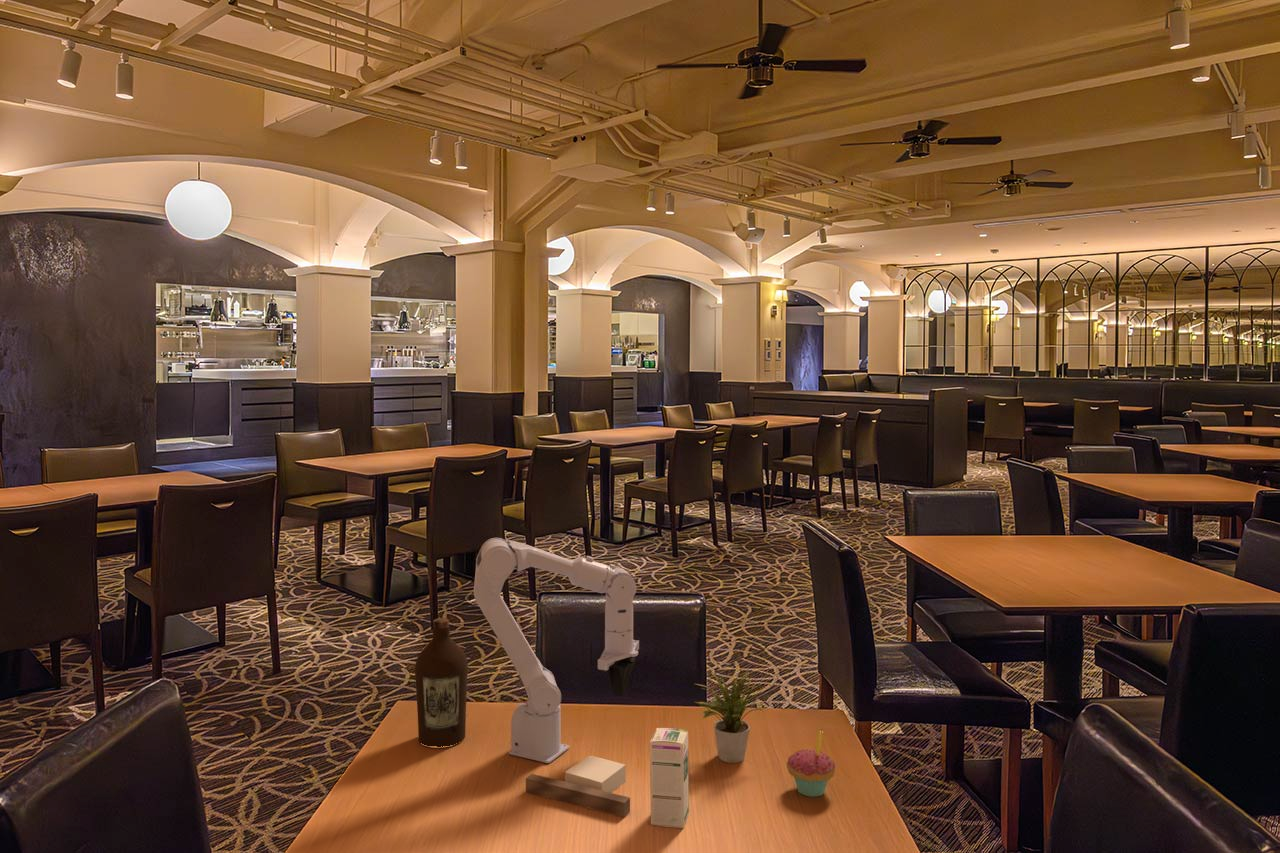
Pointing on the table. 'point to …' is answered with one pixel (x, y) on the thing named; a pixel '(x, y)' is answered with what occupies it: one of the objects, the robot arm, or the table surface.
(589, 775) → the wooden block
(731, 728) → the house plant
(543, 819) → the table surface
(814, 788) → the cupcake
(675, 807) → the syrup box
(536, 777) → the stop rail
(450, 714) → the olive oil
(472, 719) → the table surface
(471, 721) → the table surface
